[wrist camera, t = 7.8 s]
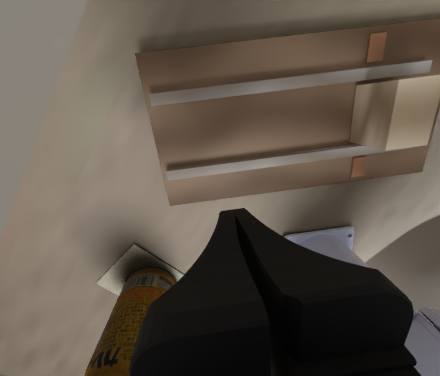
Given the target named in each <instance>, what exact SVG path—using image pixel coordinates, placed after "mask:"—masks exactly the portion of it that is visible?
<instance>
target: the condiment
mask: <svg viewBox="0 0 440 376" xmlns="http://www.w3.org/2000/svg"><path fill="white" fill-rule="evenodd" d="M151 264H152V265H151ZM182 276H183V274H182V273H180V272H179V271H177V270H176V269H174V268H172V267H171V266H169V265H167V264H166V263H164V262H161V261H160V260H159V259H157V258H156V257H154V256H153V255H151V254H150V253H148V252H146V251H144V250H142V249H141V248H140V247H138V246H136V245H135V244H134V245H133V246H132V247H131V248H130V249H129V250H128V251H127V252H126V253H125V254H124V255H123V256H122V257H121V258H120V259H119V260H118V261H117V262H116V263H115V264H114V265H113V266H112V267H111V268H110V269H109V270H108V271H107V272H106V273H105V274H104V275H103V276H102V278H101V279H100V280H99V281H98V282H97V283H96V284H98V285H100V286H101V287H103V288H105V289H108V290H109V291H110V292H112V293H115V294H117V295H118V296H119V297H118V299H117V302H116V304H115V306H114V308H113V311H112V313H111V316H110V318H109V320H108V322H107V324H106V327H105V329H104V331H103V333H102V336H101V338H100V340H99V342H98V344H97V346H96V349H95V351H94V353H93V356H92V358H91V360H90V362H89V365H88V367H87V369H86V372H85V376H130V374H129V366H130V361H131V357H132V354H133V350H134V346H135V343H136V339H137V336H138V333H139V330H140V327H141V325H142V322H143V320H144V318H145V315H146V313H147V310H148V308H149V306H150V304H151V303H152V302H153V301H155V300H156V299H157V298H159V297H160V296H161V295H162V294H163V293H165V292H166V291H167V290H168V289H170V288H171V287H172V286H173V285H174V284H175V283H176V282H177V281H178V280H179V279H180V278H181V277H182ZM122 278H123V279H124V281H122ZM123 282H125V283H123Z"/></svg>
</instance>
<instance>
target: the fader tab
mask: <svg viewBox="0 0 440 376" xmlns="http://www.w3.org/2000/svg"><path fill="white" fill-rule="evenodd" d="M439 99H440V75H434V76H425V77H417V78H409V79H401V80H393V81H386V82H379V83H372V84H364V85H357V86H356V92H355V100H354V108H353V116H352V124H351V132H350V140H349V142H352V143H356V144H360V145H364V146H368V147H372V148H376V149H381V150H385V151H387V150H394V149H402V148H410V147H417V146H425V145H427V144H428V140H429V136H430V133H431V129H432V125H433V121H434V118H435V114H436V110H437V106H438V103H439Z"/></svg>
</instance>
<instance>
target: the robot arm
mask: <svg viewBox="0 0 440 376" xmlns="http://www.w3.org/2000/svg"><path fill="white" fill-rule="evenodd" d="M354 233H355V229H354V228H353V227H351V226H348V227H340V228H333V229H326V230H319V231H312V232H305V233H298V234H291V235H286V236H284V237H283V236H281V235H279V234H278V233H276V232H274V231H273V230H271V229H270V228H268V227H267V226H265V225H264V224H263V223H262V222H260V221H259V220H258V219H256V218H255V217H254V216H253V215H252V214H251V213H249V212H248V211H247V210H246V209H245V208H241V209H234V210H226V211H221V212H220V213H219V219H218V222H217V225H216V228H215V230H214V233H213V235H212V237H211V239H210V240H209V242H208V244H207V246H206V248H205V249H204V251H203V252H202V254H201V255H200V257H199V258H198V259H197V260H196V262H195V263H194V264H193V266H192V267H191V268H190V269H189V270H188V271H187V272H186V273H185V274H184V275H183V276H182V277H181V278H180V279H179V280H178V281H177V282H176V283H175V284H174V285H173V286H172V287H171V288H170V289H168V290H167V291H166V292H165V293H163V294H162V295H161V296H160V297H159V298H157V299H156V300H155V301H153V302H152V303H151V304H150V306H149V308H148V310H147V313H146V315H145V318H144V320H143V322H142V325H141V327H140V330H139V333H138V336H137V339H136V343H135V346H134V350H133V354H132V357H131V361H130V366H129V374H130V376H440V309H436V308H430V307H429V306H426V305H425V306H423V307H421V308H420V309H419V311H420V312H421V313H422V314H423V315H424V316H425V317H426V318H427V319H428V320H429V321H430V322H431V323H432V324H433V326H434V327H433V326H432V325H431V324H430V323H429V322H428V321H427V320H426V319H425V318H424V317H423V316H422V315H420V314H419V313H418V312H417V311H416V310H415V309H414V308H413V306H412V302H411V301H410V300H409V299H408V297H407V296H406V295H405V294H404V293H403V292H401V290H399V289H398V288H397V287H396V286H395V285H394V284H393V283H392V282H391V281H390V280H389V279H388V278H387V277H385V276H384V275H383V274H382V273H381V272H380V271H379V270H376V269H372V268H369V267H368V266H367V265H366V264H365V263H364V262H363V261H362V260H361V259H360V258H359V257H358V256H357V255H356V254H355V253H354V252H353V251H352V245H353V239H354ZM435 328H436V329H435Z"/></svg>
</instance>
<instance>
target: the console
mask: <svg viewBox="0 0 440 376" xmlns="http://www.w3.org/2000/svg"><path fill="white" fill-rule="evenodd" d="M135 56H136V60H137V65H138V69H139V73H140V78H141V82H142V86H143V91H144V95H145V99H146V104H147V108H148V112H149V117H150V121H151V125H152V130H153V134H154V138H155V143H156V147H157V151H158V156H159V160H160V164H161V169H162V173H163V177H164V182H165V186H166V190H167V195H168V199H169V203H170V206H172V205H180V204H187V203H195V202H202V201H209V200H217V199H224V198H232V197H239V196H246V195H254V194H261V193H269V192H276V191H283V190H291V189H298V188H306V187H313V186H320V185H328V184H335V183H343V182H350V181H357V180H365V179H372V178H380V177H387V176H394V175H402V174H409V173H417V172H422V170H423V166H424V163H425V159H426V155H427V152H428V148H429V144H430V141H431V137H432V133H433V130H434V126H435V122H436V118H437V115H438V111H439V107H440V99H439V103H438V106H437V110H436V114H435V118H434V121H433V125H432V129H431V133H430V136H429V140H428V144H427V145H425V146H417V147H410V148H402V149H394V150H387V151H385V150H381V149H376V148H372V147H368V146H364V145H360V144H356V143H352V142H349V140H350V132H351V124H352V116H353V108H354V100H355V92H356V86H357V85H364V84H372V83H379V82H386V81H393V80H401V79H409V78H417V77H425V76H434V75H440V18H439V19H430V20H422V21H413V22H404V23H395V24H387V25H378V26H369V27H360V28H352V29H343V30H334V31H326V32H317V33H308V34H299V35H291V36H282V37H273V38H265V39H256V40H247V41H238V42H230V43H221V44H212V45H204V46H195V47H186V48H177V49H169V50H160V51H151V52H142V53H135Z"/></svg>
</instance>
